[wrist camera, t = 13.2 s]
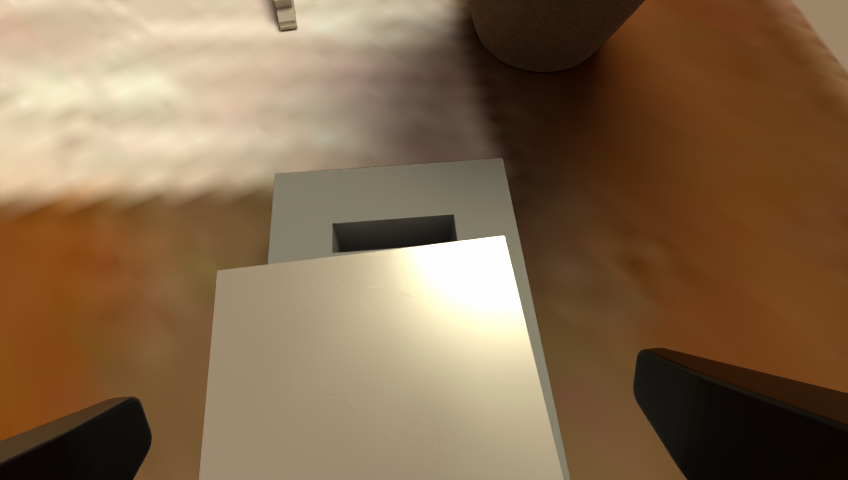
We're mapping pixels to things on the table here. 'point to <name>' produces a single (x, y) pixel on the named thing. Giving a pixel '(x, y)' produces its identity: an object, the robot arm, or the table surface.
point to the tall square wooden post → (376, 370)
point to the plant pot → (547, 29)
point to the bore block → (405, 223)
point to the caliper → (286, 14)
